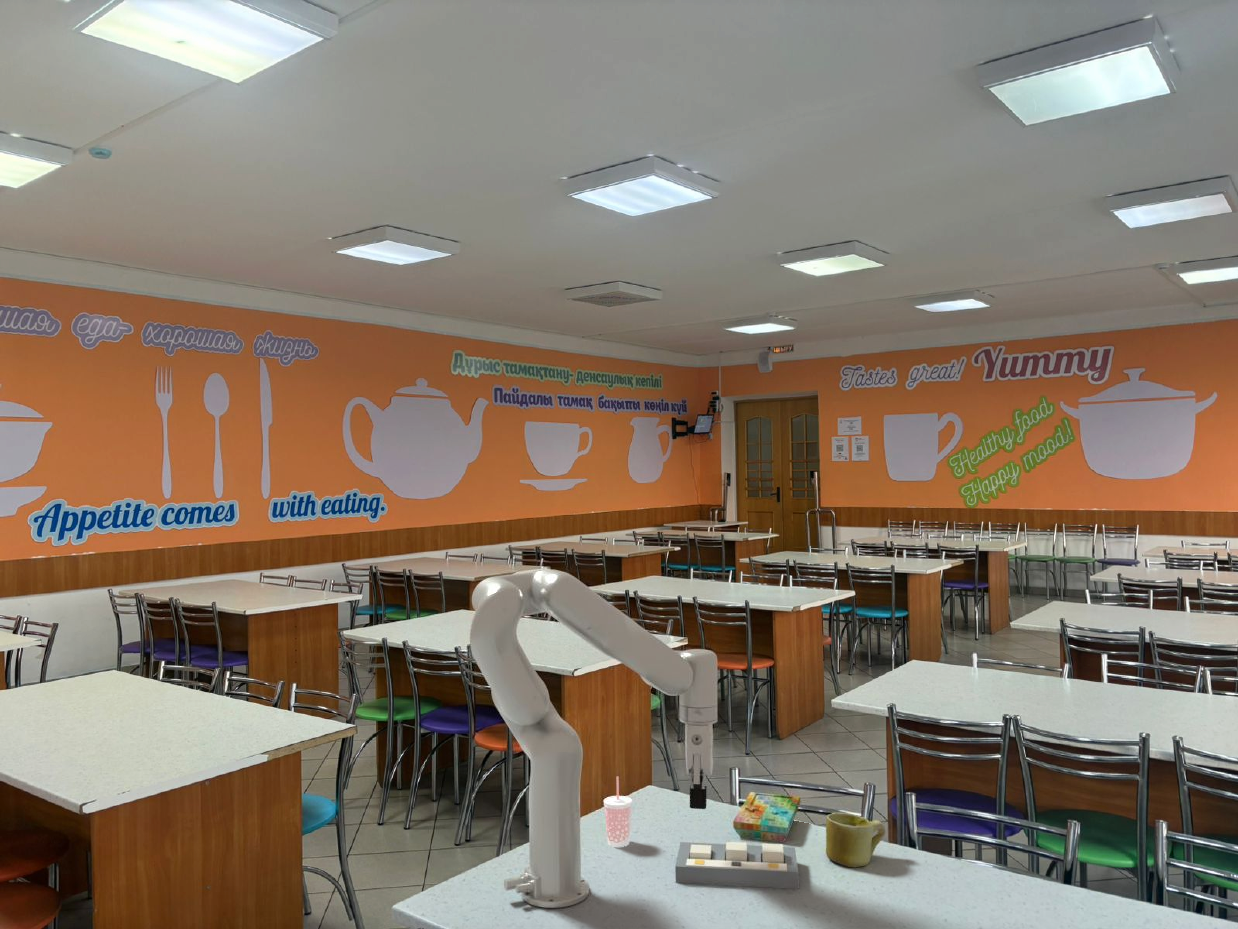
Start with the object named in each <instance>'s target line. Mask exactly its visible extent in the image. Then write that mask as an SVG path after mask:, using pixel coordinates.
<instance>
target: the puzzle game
mask: <svg viewBox="0 0 1238 929" xmlns="http://www.w3.org/2000/svg"><path fill="white" fill-rule="evenodd" d="M801 801H802V800H801V796H794V795H785V794H784V795H783V794H774V793H763V792H754V791H750V792H749V795H748V796H747V797H746V800H745V801H744V803H743V805H742V806H741V808H740V809H739V811H738V813H737V814H736V816H735V818H734V819H733V824H732V826H733V829H734V830H735V832H736V833H737V835H738V836H739V837H740V838H746V839H747V838H748V839H755V840H763V841H772V842H781V843H783V842H785V840H786V839H787V837H788V835H789V832H790V830H791V827H792V825H793V823H794V820H795V817H796V815H797V812H798V811H799V807H800V805H801ZM797 805H799V806H797Z"/></svg>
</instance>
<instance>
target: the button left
mask: <svg viewBox="0 0 1238 929" xmlns="http://www.w3.org/2000/svg"><path fill="white" fill-rule="evenodd" d="M690 859H704V860H712V853H711V845H691V849H690Z"/></svg>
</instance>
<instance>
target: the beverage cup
mask: <svg viewBox="0 0 1238 929" xmlns="http://www.w3.org/2000/svg"><path fill="white" fill-rule="evenodd" d="M619 779H620V778H619V776H617V775H616V779H615V780H616V795H611V796H608V797H606V798H604V799H603V806H604V809H605V811H604V812H605V823H606V825H605V827H606V837H607V838H606V839H607V845H608V846H609V847H613V848H625V847H627V846H628V845H629V844H630V833H631V812H632V810H631V809H632V807H631V806H633V799H632V798H630V797H629V796H624V795H620V793H619V792H620V781H619ZM624 846H625V847H624Z"/></svg>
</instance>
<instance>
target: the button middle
mask: <svg viewBox="0 0 1238 929" xmlns="http://www.w3.org/2000/svg"><path fill="white" fill-rule="evenodd" d="M725 844H726V861H745V862H747V845H748V842H740V841H739V842H738V841H737V842H736V841H726V843H725Z"/></svg>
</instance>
